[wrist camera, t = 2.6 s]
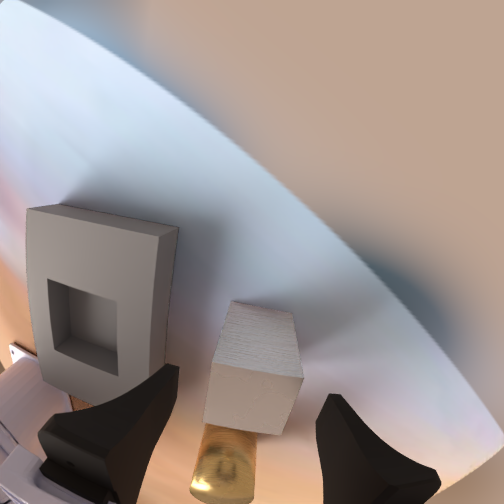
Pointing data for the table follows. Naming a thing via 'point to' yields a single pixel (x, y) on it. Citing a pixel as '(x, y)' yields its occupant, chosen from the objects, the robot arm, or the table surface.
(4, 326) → the table surface
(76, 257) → the bore block
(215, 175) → the table surface
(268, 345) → the square bit
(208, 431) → the round bit
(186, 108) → the table surface
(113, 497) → the robot arm
